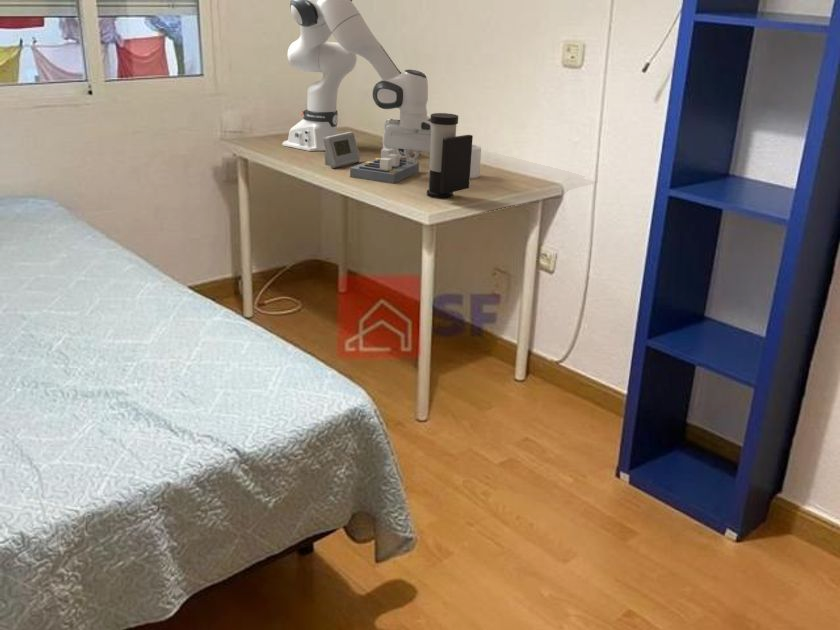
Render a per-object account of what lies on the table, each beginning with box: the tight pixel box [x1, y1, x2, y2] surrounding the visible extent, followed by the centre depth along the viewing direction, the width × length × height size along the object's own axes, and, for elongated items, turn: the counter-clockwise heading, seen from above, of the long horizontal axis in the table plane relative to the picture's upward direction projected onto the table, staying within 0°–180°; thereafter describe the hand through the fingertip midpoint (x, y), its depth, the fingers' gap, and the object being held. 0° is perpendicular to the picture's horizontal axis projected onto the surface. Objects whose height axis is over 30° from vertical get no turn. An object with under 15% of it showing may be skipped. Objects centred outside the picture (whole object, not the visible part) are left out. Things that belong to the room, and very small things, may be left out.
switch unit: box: [349, 156, 420, 184], centre depth 278 cm, size 16×21×4 cm
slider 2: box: [380, 157, 392, 171], centre depth 270 cm, size 3×3×4 cm
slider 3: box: [388, 154, 401, 166], centre depth 276 cm, size 3×3×4 cm
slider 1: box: [380, 148, 393, 158], centre depth 284 cm, size 3×3×4 cm
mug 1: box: [382, 132, 407, 159], centre depth 305 cm, size 13×10×8 cm
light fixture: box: [426, 112, 474, 199], centre depth 250 cm, size 12×11×25 cm
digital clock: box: [323, 131, 361, 169], centre depth 288 cm, size 16×9×11 cm, turn 136°
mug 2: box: [470, 144, 482, 180], centre depth 281 cm, size 12×8×10 cm
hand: (411, 163), depth 273 cm, fingers closed
